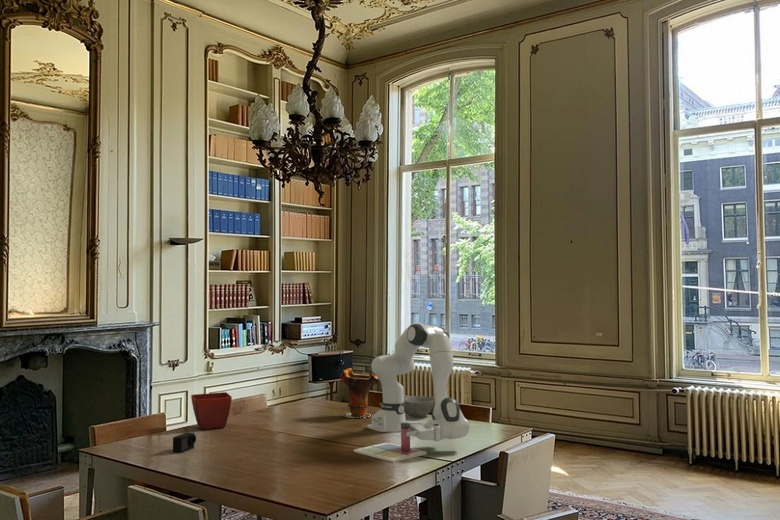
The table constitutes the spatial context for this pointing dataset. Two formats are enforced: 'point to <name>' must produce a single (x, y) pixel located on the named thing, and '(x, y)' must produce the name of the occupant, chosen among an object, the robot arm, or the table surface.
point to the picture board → (389, 452)
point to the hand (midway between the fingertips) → (403, 431)
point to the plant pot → (211, 409)
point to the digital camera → (183, 442)
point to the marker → (405, 437)
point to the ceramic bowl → (418, 405)
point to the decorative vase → (358, 391)
